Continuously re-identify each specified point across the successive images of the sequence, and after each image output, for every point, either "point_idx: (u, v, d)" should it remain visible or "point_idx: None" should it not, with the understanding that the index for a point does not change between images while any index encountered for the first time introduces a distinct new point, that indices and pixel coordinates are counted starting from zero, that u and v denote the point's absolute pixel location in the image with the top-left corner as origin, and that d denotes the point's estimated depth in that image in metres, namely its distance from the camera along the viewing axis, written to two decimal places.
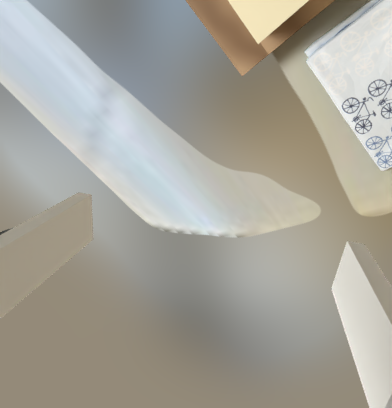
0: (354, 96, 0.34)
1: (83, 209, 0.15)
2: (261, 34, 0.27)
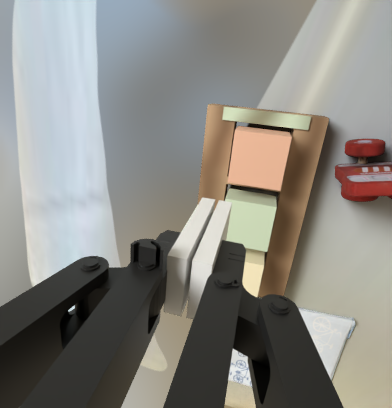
0: None
1: (211, 213, 0.16)
2: None
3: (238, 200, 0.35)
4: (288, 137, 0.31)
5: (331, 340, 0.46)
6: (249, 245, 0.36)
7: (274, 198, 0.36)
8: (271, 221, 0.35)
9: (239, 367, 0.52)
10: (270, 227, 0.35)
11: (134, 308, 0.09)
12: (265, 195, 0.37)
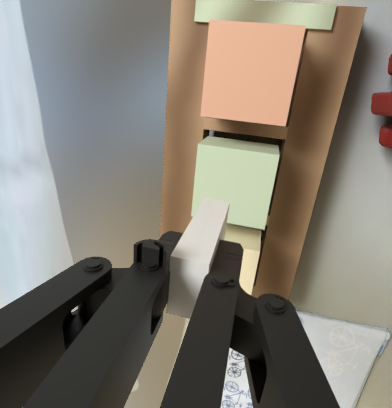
0: None
1: None
2: None
3: (218, 146, 0.22)
4: (300, 26, 0.18)
5: (354, 358, 0.33)
6: (237, 219, 0.23)
7: (276, 147, 0.24)
8: (271, 179, 0.22)
9: (229, 390, 0.40)
10: (270, 190, 0.22)
11: (137, 309, 0.08)
12: (262, 144, 0.24)
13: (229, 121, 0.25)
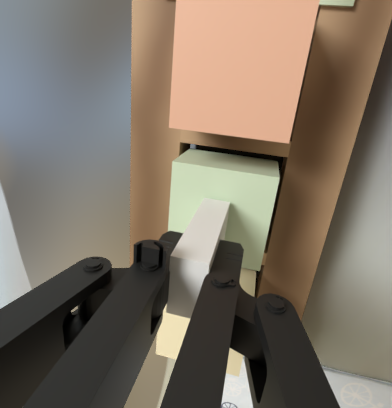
0: None
1: None
2: (165, 351, 0.21)
3: (199, 164, 0.17)
4: None
5: None
6: None
7: (275, 164, 0.18)
8: (268, 209, 0.16)
9: None
10: (267, 222, 0.17)
11: (137, 309, 0.08)
12: (257, 159, 0.19)
13: None
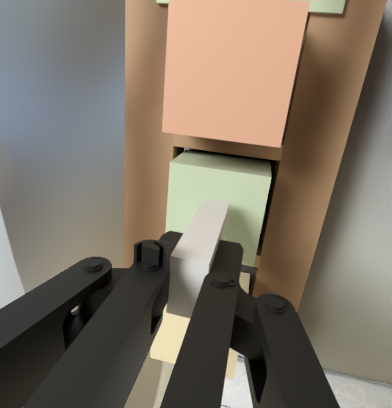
0: None
1: None
2: (159, 355, 0.21)
3: (195, 165, 0.18)
4: (301, 3, 0.12)
5: None
6: None
7: (267, 165, 0.19)
8: (261, 207, 0.17)
9: None
10: (259, 219, 0.18)
11: (137, 309, 0.08)
12: (250, 160, 0.20)
13: None
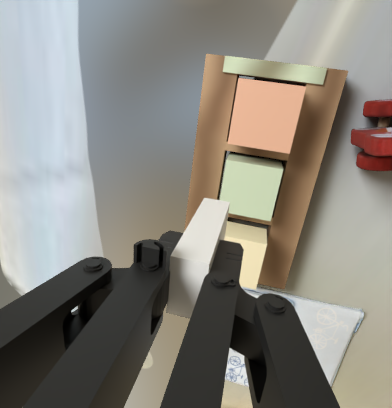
0: None
1: None
2: None
3: (240, 161, 0.31)
4: (302, 87, 0.26)
5: (336, 334, 0.41)
6: (251, 213, 0.33)
7: (279, 163, 0.33)
8: (276, 186, 0.31)
9: (233, 364, 0.47)
10: (275, 193, 0.32)
11: (137, 309, 0.08)
12: (269, 160, 0.34)
13: None
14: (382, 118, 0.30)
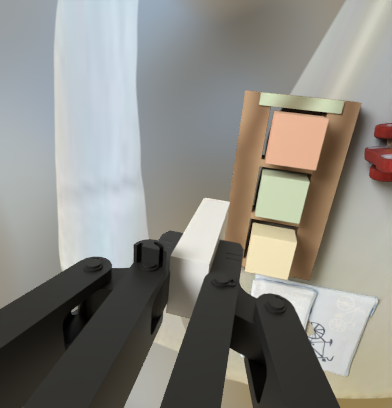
0: None
1: None
2: (250, 269, 0.42)
3: (274, 176, 0.39)
4: (325, 119, 0.33)
5: (354, 318, 0.49)
6: (283, 217, 0.40)
7: (305, 175, 0.40)
8: (304, 195, 0.39)
9: None
10: (303, 201, 0.39)
11: (137, 309, 0.08)
12: (296, 173, 0.41)
13: None
14: (390, 139, 0.37)
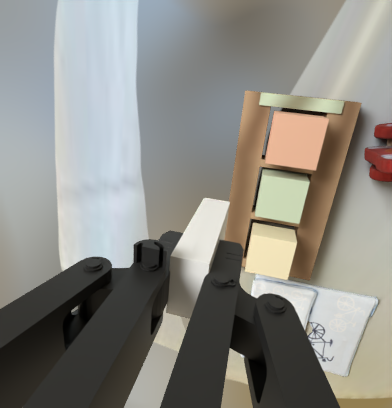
0: None
1: None
2: (250, 269, 0.42)
3: (274, 176, 0.39)
4: (325, 119, 0.33)
5: (354, 318, 0.48)
6: (283, 217, 0.40)
7: (305, 175, 0.40)
8: (304, 195, 0.39)
9: None
10: (303, 201, 0.39)
11: (137, 309, 0.08)
12: (296, 173, 0.41)
13: None
14: (390, 139, 0.37)
